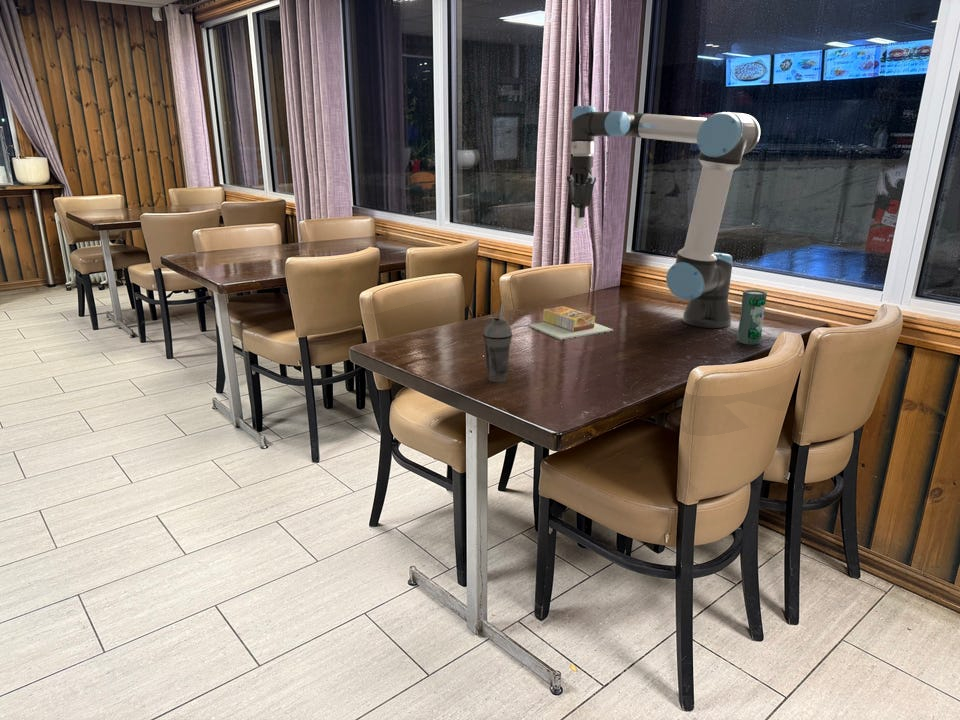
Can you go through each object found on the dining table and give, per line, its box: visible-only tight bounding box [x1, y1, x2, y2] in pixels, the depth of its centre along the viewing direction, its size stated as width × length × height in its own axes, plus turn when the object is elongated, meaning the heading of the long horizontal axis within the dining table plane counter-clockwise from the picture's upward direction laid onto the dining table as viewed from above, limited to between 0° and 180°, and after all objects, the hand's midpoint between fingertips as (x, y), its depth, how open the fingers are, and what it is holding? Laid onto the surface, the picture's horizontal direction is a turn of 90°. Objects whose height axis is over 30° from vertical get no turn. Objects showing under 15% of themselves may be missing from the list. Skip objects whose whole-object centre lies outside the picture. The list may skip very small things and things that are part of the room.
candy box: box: [542, 305, 596, 332], centre depth 213 cm, size 9×4×15 cm
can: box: [736, 289, 768, 345], centre depth 195 cm, size 6×6×15 cm
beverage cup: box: [482, 300, 513, 383], centre depth 164 cm, size 7×7×20 cm
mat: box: [527, 321, 614, 341], centre depth 211 cm, size 18×20×1 cm
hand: (579, 226), depth 229 cm, fingers closed
